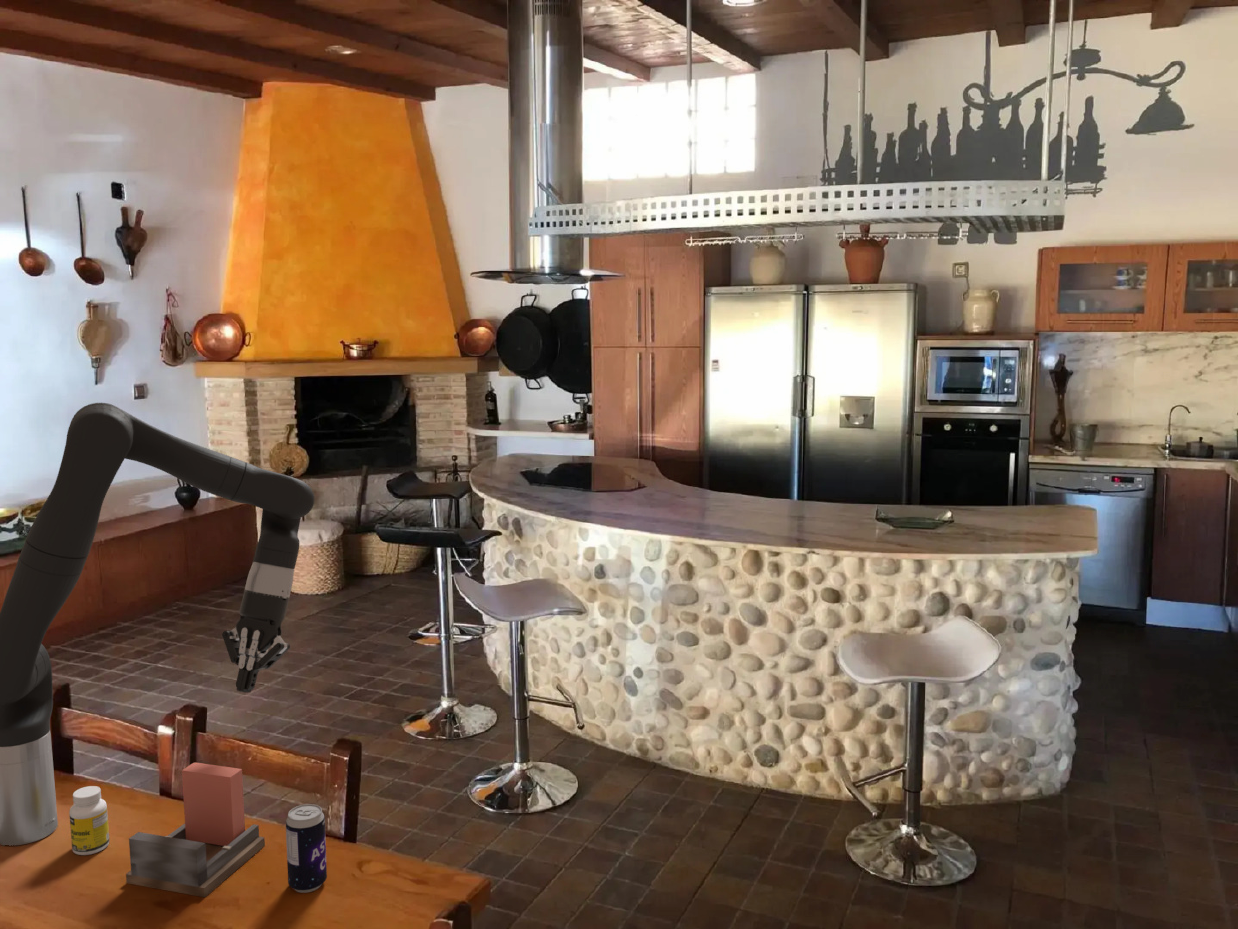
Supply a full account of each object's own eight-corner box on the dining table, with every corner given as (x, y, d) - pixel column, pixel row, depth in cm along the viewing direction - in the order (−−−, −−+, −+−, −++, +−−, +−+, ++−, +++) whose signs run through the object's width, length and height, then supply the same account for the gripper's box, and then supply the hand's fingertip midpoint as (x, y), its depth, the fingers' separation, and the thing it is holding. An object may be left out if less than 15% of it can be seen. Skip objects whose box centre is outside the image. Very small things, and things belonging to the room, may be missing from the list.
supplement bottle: (64, 852, 158) (59, 795, 156) (93, 836, 163) (89, 781, 161) (88, 859, 156) (84, 802, 154) (117, 843, 161) (113, 787, 159)
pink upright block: (186, 839, 159) (181, 770, 157) (198, 830, 161) (194, 762, 160) (233, 847, 156) (230, 777, 155) (245, 838, 159) (242, 769, 158)
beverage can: (315, 898, 146) (312, 823, 144) (281, 893, 147) (277, 819, 146) (333, 877, 152) (331, 805, 150) (300, 872, 153) (297, 801, 151)
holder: (126, 883, 149) (123, 837, 148) (191, 834, 164) (189, 792, 163) (204, 897, 146) (202, 851, 145) (264, 845, 160) (262, 803, 159)
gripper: (222, 583, 168) (197, 684, 165) (286, 596, 163) (261, 700, 161) (250, 587, 175) (226, 684, 172) (312, 599, 170) (289, 699, 168)
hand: (243, 691), depth 166 cm, fingers closed
